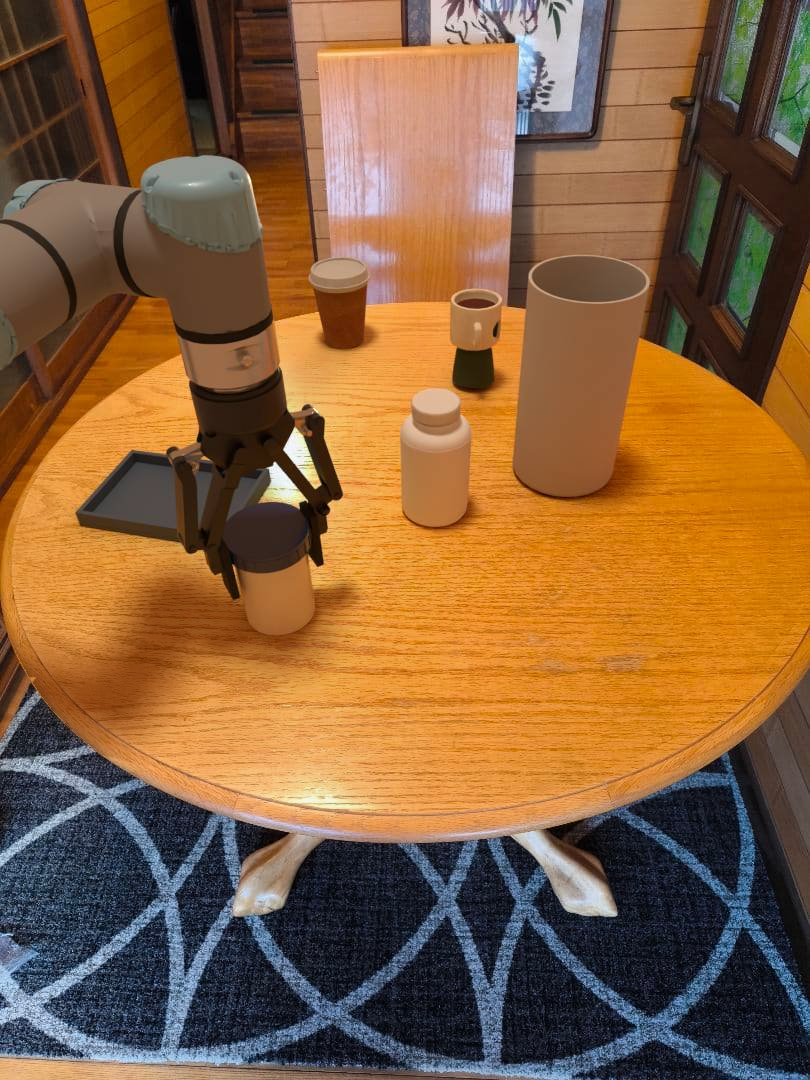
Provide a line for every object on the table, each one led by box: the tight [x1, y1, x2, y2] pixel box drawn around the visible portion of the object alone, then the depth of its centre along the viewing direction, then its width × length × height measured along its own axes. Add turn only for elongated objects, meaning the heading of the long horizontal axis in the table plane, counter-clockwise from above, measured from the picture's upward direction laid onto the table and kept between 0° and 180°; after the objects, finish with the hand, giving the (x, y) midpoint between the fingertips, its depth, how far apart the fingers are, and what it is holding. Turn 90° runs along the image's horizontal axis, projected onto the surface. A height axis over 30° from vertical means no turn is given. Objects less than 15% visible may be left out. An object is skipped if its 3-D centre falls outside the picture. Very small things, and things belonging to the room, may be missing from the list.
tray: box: [74, 449, 272, 543], centre depth 93 cm, size 19×13×2 cm
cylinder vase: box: [512, 254, 651, 498], centre depth 89 cm, size 12×12×25 cm
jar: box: [234, 552, 316, 636], centre depth 76 cm, size 7×7×11 cm
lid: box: [222, 501, 312, 574], centre depth 73 cm, size 8×8×2 cm
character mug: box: [449, 288, 503, 389], centre depth 109 cm, size 11×7×13 cm, turn 0°
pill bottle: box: [399, 387, 472, 528], centre depth 87 cm, size 8×8×15 cm
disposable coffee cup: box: [307, 256, 371, 350], centre depth 121 cm, size 10×10×12 cm
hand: (274, 573), depth 76 cm, fingers closed on lid, 8 cm apart
